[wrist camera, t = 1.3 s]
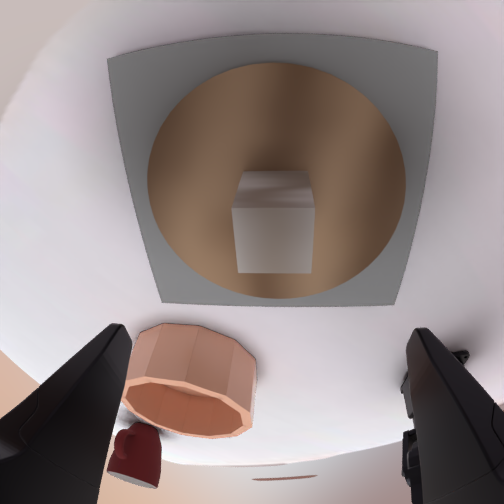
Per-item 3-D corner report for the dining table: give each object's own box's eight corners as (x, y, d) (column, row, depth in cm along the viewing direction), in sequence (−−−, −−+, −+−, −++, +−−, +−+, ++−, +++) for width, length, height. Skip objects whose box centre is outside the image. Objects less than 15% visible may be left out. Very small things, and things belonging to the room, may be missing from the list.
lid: (411, 72, 12) (459, 83, 8) (379, 290, 20) (395, 345, 16) (134, 78, 13) (83, 92, 9) (176, 288, 21) (156, 340, 17)
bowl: (252, 328, 25) (246, 386, 20) (258, 397, 31) (254, 442, 27) (119, 319, 26) (96, 367, 21) (155, 387, 33) (143, 427, 28)
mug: (104, 406, 39) (85, 460, 31) (144, 410, 38) (126, 472, 29) (139, 434, 45) (126, 482, 37) (178, 439, 43) (167, 491, 35)
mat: (429, 50, 12) (437, 51, 11) (390, 295, 21) (393, 305, 21) (115, 58, 13) (107, 59, 13) (165, 293, 23) (162, 302, 22)
